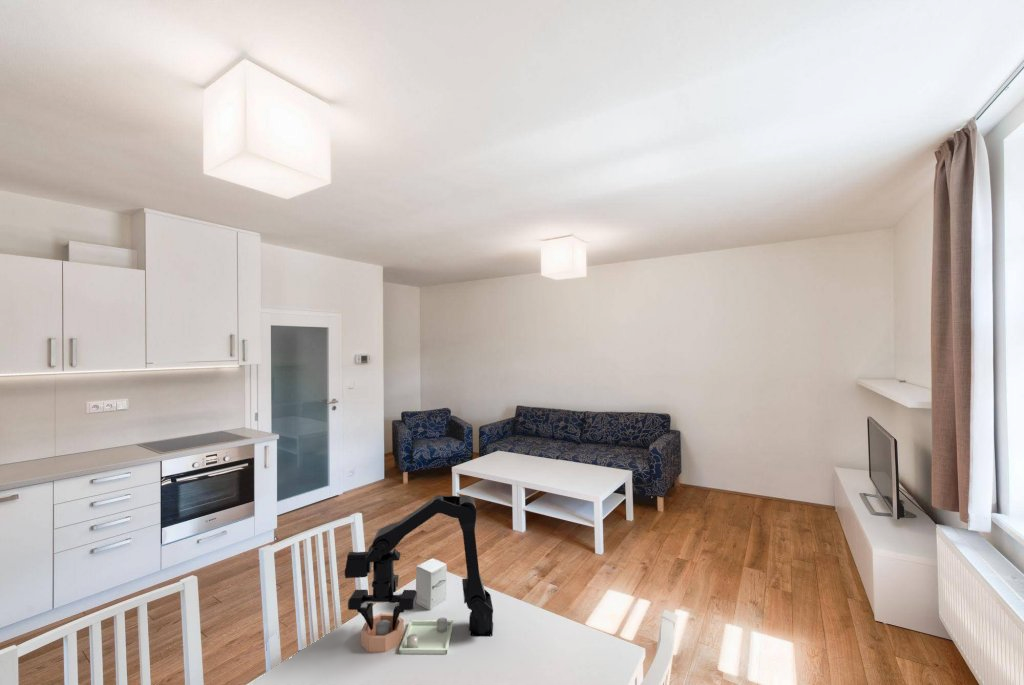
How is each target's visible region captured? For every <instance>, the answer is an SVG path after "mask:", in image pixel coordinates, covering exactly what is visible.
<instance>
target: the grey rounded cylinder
mask: <svg viewBox="0 0 1024 685" xmlns="http://www.w3.org/2000/svg"><path fill="white" fill-rule="evenodd" d="M389 633H390V622H389V621H388V620H381V621H379V622H378V623H377V624H376V636H385V635H387V634H389Z"/></svg>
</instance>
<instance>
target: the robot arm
mask: <svg viewBox="0 0 1024 685" xmlns="http://www.w3.org/2000/svg"><path fill="white" fill-rule="evenodd" d="M476 507H477V506H476V503H475V499H474V498H473V497H472V496H470V495H463V496H462V495H461V496H460V495H459V496H458V495H440V494H436V495H434V496H433V497H432V498H431V499H430V500H428V501H427V502H426V503H424V504H423V505H421V506H420V507H418V508H416V510H414V511H412V512H411V513H410V514H409V515H407V516H405V517H404V518H402V519H400V520H399V521H396V522H394V523H390V524H388V525H386V526H384V527H382V528H380V529H378V530H377V532H376V533H375V536H374V538H373V541H372V544H371V545H369V548H368V550H367V551H349V552H347V556H346V562H345V563H346V564H345V568H344V578H345V579H357V578H358V579H359V578H367V577H368V574H371V572H372V569H373V572H372V583H371V587H372V594H369V590H368V589H355V590H354V591H353V592H352V594H351V595H350V597H349V598H348V600H347V609H348V610H349V611H351V610H352V611H356V612H357V613H360V614H361V616H362V617H363V619H364V621H365V622H367V624H368V626H369V628H370V630H372V629H373V617H374V608H373V606H374V604H395V606H394V609H393V611H392V614H393V624H392V627H393V630H394V629H395V627H396V623H397V620H398V617H400V614H401V613H402V614H403V613H404V612H405V611H412V610H414V608H415V605H416V604H417V603H416V600H417V592H416V589H403V591H402V593H399V594H394V593H396V591H397V587H398V586H399V577H400V576H399V574H395V572H394V571H395V570H394V568H395V567H394V566H395V563H394V562H395V561H400V560H401V555H402V554H401V552H400V551H398V550H397V549H396V547H397V546H398V545H399V544H400V542H401V541H402V540H403V539H404V538H405V537H406V535H408V534H410V533H411V532H413V531H414V530H416V529H417V528H419V527H420V526H422V525H423V524H424V523H426V522H427V521H428V520H430V519H432V518H433V517H435V516H436V515H437V514H443V515H445V516H447V517H451V518H453V519H457V520H458V522H459V526H460V528H461V531H462V536H463V537H462V538H463V539H462V540H463V546H464V547H463V548H464V558H465V566H466V578H462V579H461V582H462V592H463V603H464V604H466V606H467V609H469V610H470V611H471V612H469V617H468V618H469V621H468V622H469V627H468V630H469V632H470V636H471V637H490V638H491V637H493V635H494V634H493V632H494V621H493V618H494V614H493V613H494V606H493V600H492V595H491V593H490V592H488V590H486V589H485V586H484V583H483V579H482V577H481V574H480V569H479V567H480V566H479V558H478V550H477V542H476V530H475V529H476V521H477V508H476Z"/></svg>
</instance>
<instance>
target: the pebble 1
mask: <svg viewBox="0 0 1024 685" xmlns="http://www.w3.org/2000/svg"><path fill="white" fill-rule="evenodd" d="M407 648H418V635H416V634H411V635H409V636H408V637H407Z"/></svg>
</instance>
